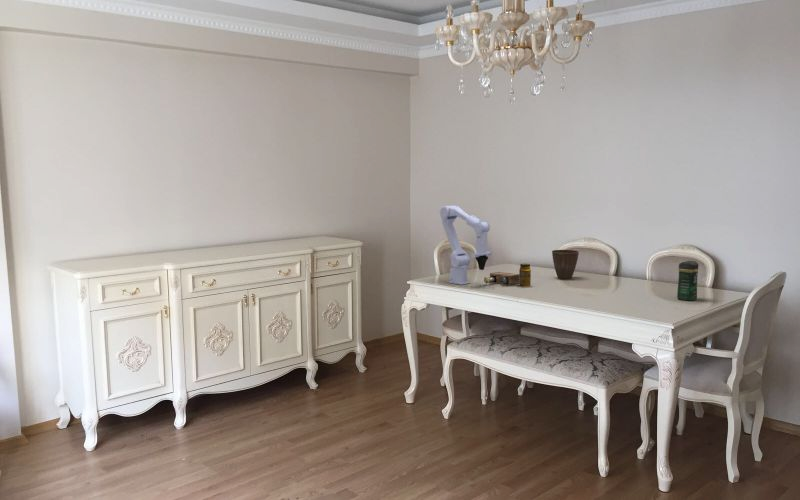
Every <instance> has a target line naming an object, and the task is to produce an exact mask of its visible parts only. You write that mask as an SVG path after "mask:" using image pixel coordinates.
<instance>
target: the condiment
mask: <svg viewBox="0 0 800 500" xmlns="http://www.w3.org/2000/svg"><path fill="white" fill-rule="evenodd" d="M518 272H519V273H518V274H519V285H513V286H514V287H516V288H521V289H522V288H530V287H533V285H531V282H532V281H531V280H532V279H531V277H532V276H531V272H532V270H531V264H530V263H521V264H520V265H519V271H518ZM513 286H512V287H513Z"/></svg>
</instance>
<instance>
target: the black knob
mask: <svg viewBox="0 0 800 500" xmlns="http://www.w3.org/2000/svg"><path fill="white" fill-rule="evenodd" d="M507 282H508V278H501V283H502V284H506V283H507Z"/></svg>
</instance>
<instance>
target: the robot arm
mask: <svg viewBox="0 0 800 500" xmlns="http://www.w3.org/2000/svg"><path fill="white" fill-rule="evenodd" d="M439 215H440V217H441V221H442V222H441V224H442V226H443V229H444V232H445V235H446V237H447V241H448V243H449V247H450V249H451V252H452V253H451V254H450V255H449V256H450V257H449V258H450V264H451V266H452V267H451V268H450V269H449V281H448V284H455V285H460V286H461V285H466V284H470V283H471V281H468V267H469V266H470V262H471V258H472V259H473V258H475V260H476V262H477V265H478V270H480V271H484V270H485V266H486V263H487V261H488V260H489V256H492V251H488V233H489V231H490V229H491V227H490V224H489V222H488V221H482V219H479V218H477V216H476V215H475V214H474V215H472V214H471V215H469V213H466V212H465V211H464V210H462V208H461V207H460V206H458V205H456V204H454V205H443V206H442V207H441V208H440V211H439ZM457 218H459V219H462V220H464V221H465V223H466V224H467V225H468V226H469V227H470V228H472V229H473V230H474V232H475V236H476V244H475V245H476V250H475V251H476V252H473V253H471V258H470V256H469V255H468V254H467V251H465V250H463V248H462V246H461V244H460V240H459V238H458V234H457V232H456V230H455V227H454V222H456V221H455V220H456V219H457Z"/></svg>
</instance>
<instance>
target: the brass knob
mask: <svg viewBox="0 0 800 500" xmlns="http://www.w3.org/2000/svg"><path fill="white" fill-rule="evenodd" d="M495 280H496V277H493V278H490V276H486V277H484V278H483V281H484V283H485V284H491V283H490V282H491V281H495Z"/></svg>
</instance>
